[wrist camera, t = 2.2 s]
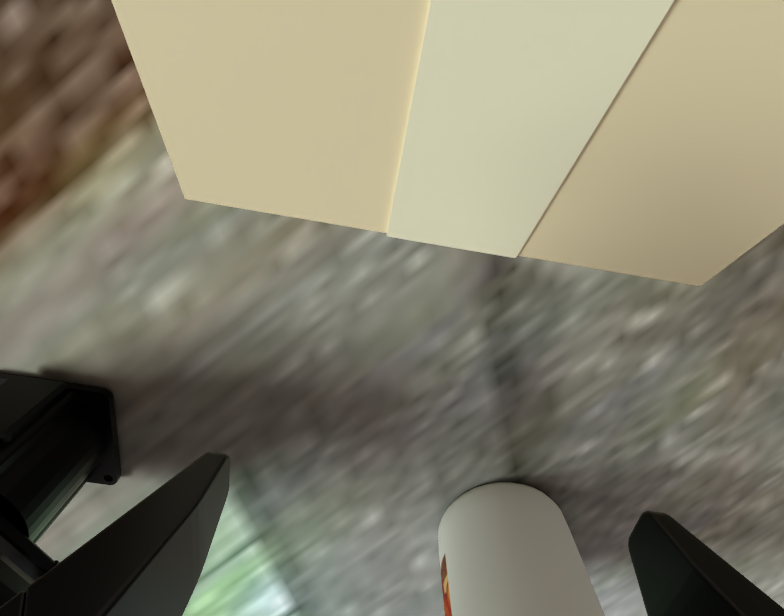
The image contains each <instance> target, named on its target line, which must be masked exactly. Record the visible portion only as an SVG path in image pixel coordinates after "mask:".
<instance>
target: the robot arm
mask: <svg viewBox="0 0 784 616" xmlns="http://www.w3.org/2000/svg"><path fill="white" fill-rule="evenodd" d="M99 396H100V397H102V398H103V399H101V398H100V397H99ZM229 468H230V459H229V456H228V455H227V454H223V453H215V452H207V453H205V454H204V455H202V456H201V457H200V458H198V459H197V460H196V461H194V462H193V463H192V464H190V465H189V466H188V467H186V468H185V469H184V470H182V471H181V472H180V473H178V474H177V475H176V476H174V477H173V478H172V479H170V480H169V481H168V482H166V483H165V484H164V485H162V486H161V487H160V488H158V489H157V490H156V491H154V492H153V493H152V494H150V495H149V496H148V497H146V498H145V499H144V500H142V501H141V502H140V503H138V504H137V505H136V506H134V507H133V508H132V509H130V510H129V511H128V512H126V513H125V514H124V515H122V516H121V517H120V518H118V519H117V520H116V521H115V522H113V523H112V524H111V525H109V526H108V527H107V528H105V529H104V530H103V531H101V532H100V533H99V534H97V535H96V536H95V537H93V538H92V539H91V540H89V541H88V542H87V543H85V544H84V545H83V546H81V547H80V548H79V549H77V550H76V551H75V552H73V553H72V554H71V555H69V556H68V557H67V558H65V559H64V560H63V561H61V562H59V561H58V560H56V561H54V560H53V559H52V558H50V557H49V556H48V555H47V554H46V553H45V552H44V551H43V550H41V549H40V548H39V547H38V546H37V545H36V544H35V543H36V542H37V541H38V540H39V538H40V537H41V536H42V535H43V534H44V532H45V531H46V530H47V529H48V528H49V526H50V525H51V524H52V523H53V522H54V520H55V519H56V518H57V517H58V516H59V514H60V513H61V512H62V511H63V510H64V508H65V507H66V506H67V505H68V503H69V502H70V501H71V500H72V499H73V497H74V496H75V495H76V494H77V493H78V491H79V490H80V489H81V488H82V487H83V485H84V484H85V483H86V482H91V483H99V484H107V485H113V484H115V483H116V482H117V481H118V480H119V478H120V477H121V468H120V459H119V449H118V439H117V429H116V419H115V410H114V400H113V395H112V393H111V392H110V391H109V390H107V389H105V388H101V387H94V386H87V385H80V384H73V383H66V382H59V381H52V380H45V379H38V378H32V377H25V376H18V375H11V374H4V373H0V616H182V615H183V613H184V611H185V608H186V606H187V604H188V602H189V600H190V598H191V595H192V593H193V591H194V589H195V586H196V584H197V582H198V579H199V577H200V574H201V572H202V569H203V566H204V563H205V560H206V557H207V554H208V551H209V549H210V546H211V543H212V540H213V537H214V534H215V531H216V528H217V525H218V522H219V519H220V516H221V513H222V510H223V507H224V504H225V501H226V498H227V495H228V490H229ZM628 546H629V552H630V555H631V559H632V562H633V566H634V569H635V573H636V576H637V580H638V583H639V587H640V590H641V594H642V597H643V601H644V604H645V608H646V611H647V614H648V616H784V609H783V608H782V607H781V606H780V605H778V604H777V603H776V602H775V601H774V600H772V599H771V598H770V597H769V596H767V595H766V594H765V593H764V592H763V591H761V590H760V589H759V588H758V587H756V586H755V585H754V584H753V583H751V582H750V581H749V580H748V579H747V578H745V577H744V576H743V575H742V574H740V573H739V572H738V571H737V570H735V569H734V568H733V567H732V566H731V565H729V564H728V563H727V562H726V561H724V560H723V559H722V558H721V557H720V556H718V555H717V554H716V553H715V552H713V551H712V550H711V549H710V548H708V547H707V546H706V545H705V544H704V543H702V542H701V541H700V540H699V539H697V538H696V537H695V536H694V535H693V534H691V533H690V532H689V531H688V530H686V529H685V528H684V527H683V526H681V525H680V524H679V523H678V522H677V521H675V520H674V519H673V518H672V517H670V516H669V515H667V514H665V513H661V512H653V511H645V512H644V513H642V515H641V516H640V518H639V520H638V522H637V524H636V526H635V527H634V529H633V531H632V533H631V535H630V537H629V542H628Z"/></svg>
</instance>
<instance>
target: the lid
mask: <svg viewBox="0 0 784 616" xmlns="http://www.w3.org/2000/svg"><path fill="white" fill-rule="evenodd" d="M111 1H112V3H113V6H114V9H115V11H116V14H117V17H118V19H119V22H120V25H121V27H122V30H123V33H124V36H125V38H126V41H127V44H128V46H129V49H130V52H131V54H132V57H133V60H134V62H135V65H136V68H137V71H138V73H139V76H140V79H141V81H142V84H143V87H144V89H145V92H146V95H147V98H148V100H149V103H150V106H151V108H152V111H153V114H154V116H155V119H156V122H157V124H158V127H159V130H160V133H161V135H162V138H163V141H164V143H165V146H166V149H167V151H168V154H169V157H170V159H171V162H172V165H173V168H174V170H175V173H176V176H177V178H178V181H179V184H180V186H181V189H182V192H183V195H184V197H185V199H189V200H195V201H201V202H207V203H212V204H218V205H224V206H230V207H236V208H242V209H248V210H254V211H259V212H265V213H271V214H277V215H283V216H289V217H295V218H301V219H306V220H312V221H318V222H324V223H330V224H336V225H342V226H348V227H353V228H359V229H365V230H371V231H377V232H383V233H387V235H386V236H388V237H394V238H400V239H406V240H412V241H417V242H423V243H429V244H435V245H441V246H447V247H453V248H459V249H465V250H470V251H476V252H482V253H488V254H494V255H500V256H506V257H512V258H516V257H517V255H518V256H524V257H530V258H536V259H542V260H547V261H553V262H559V263H565V264H571V265H577V266H583V267H589V268H594V269H600V270H606V271H612V272H618V273H624V274H630V275H636V276H641V277H647V278H653V279H659V280H665V281H671V282H677V283H683V284H688V285H694V286H702V285H703V284H704V283H706V282H707V281H708V280H710V279H711V278H712V277H714V276H715V275H716V274H718V273H719V272H720V271H722V270H723V269H724V268H725V267H727V266H728V265H729V264H731V263H732V262H733V261H735V260H736V259H737V258H739V257H740V256H741V255H743V254H744V253H745V252H747V251H748V250H749V249H751V248H752V247H753V246H755V245H756V244H757V243H759V242H760V241H761V240H763V239H764V238H765V237H767V236H768V235H769V234H771V233H772V232H773V231H775V230H776V229H777V228H779V227H780V226H781V225H783V224H784V0H111Z"/></svg>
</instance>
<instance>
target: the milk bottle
mask: <svg viewBox="0 0 784 616" xmlns="http://www.w3.org/2000/svg"><path fill="white" fill-rule="evenodd" d="M438 541H439V557H440V567H441V578H442V589H443V600H444V610H445V616H605V615H604V612H603V610H602V607H601V605H600V603H599V600H598V598H597V595H596V593H595V590H594V588H593V585H592V583H591V580H590V578H589V576H588V573H587V571H586V568H585V566H584V563H583V561H582V558H581V556H580V554H579V551H578V549H577V546H576V544H575V541H574V539H573V537H572V534H571V532H570V529H569V527H568V525H567V523H566V520H565V518H564V516H563V514H562V512H561V510H560V509H559V507H558V506H557V505H556V503H555V502H553V501H552V500H551V499H550V498H549V497H548V496H546V495H545V494H544V493H543V492H541V491H539V490H537V489H535V488H533V487H530V486H527V485H524V484H518V483H511V482H506V483H493V484H486V485H483V486H480V487H476V488H473V489H472V490H470V491H468V492H465V493H463V494H462V495H461V496H460V497H458V498H457V499H455V500H454V501H453V502H452V504H451V505H450V506H449V507H448V508H447V510H446V511H445V513H444V515H443V517H442V519H441V522H440V525H439V529H438Z"/></svg>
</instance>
